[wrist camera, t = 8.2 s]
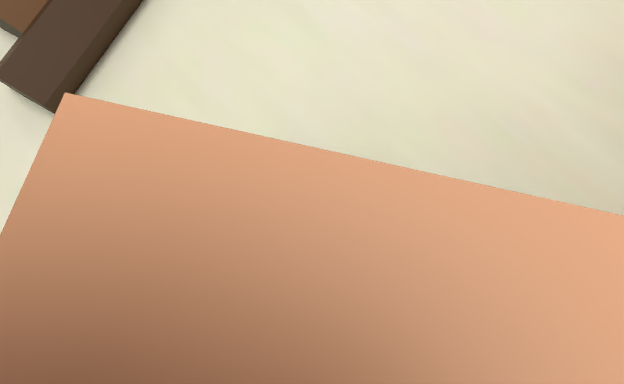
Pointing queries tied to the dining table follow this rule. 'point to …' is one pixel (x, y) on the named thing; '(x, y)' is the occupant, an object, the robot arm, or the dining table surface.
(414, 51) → the dining table surface
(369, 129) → the dining table surface
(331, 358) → the peach block
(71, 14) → the pan flute
